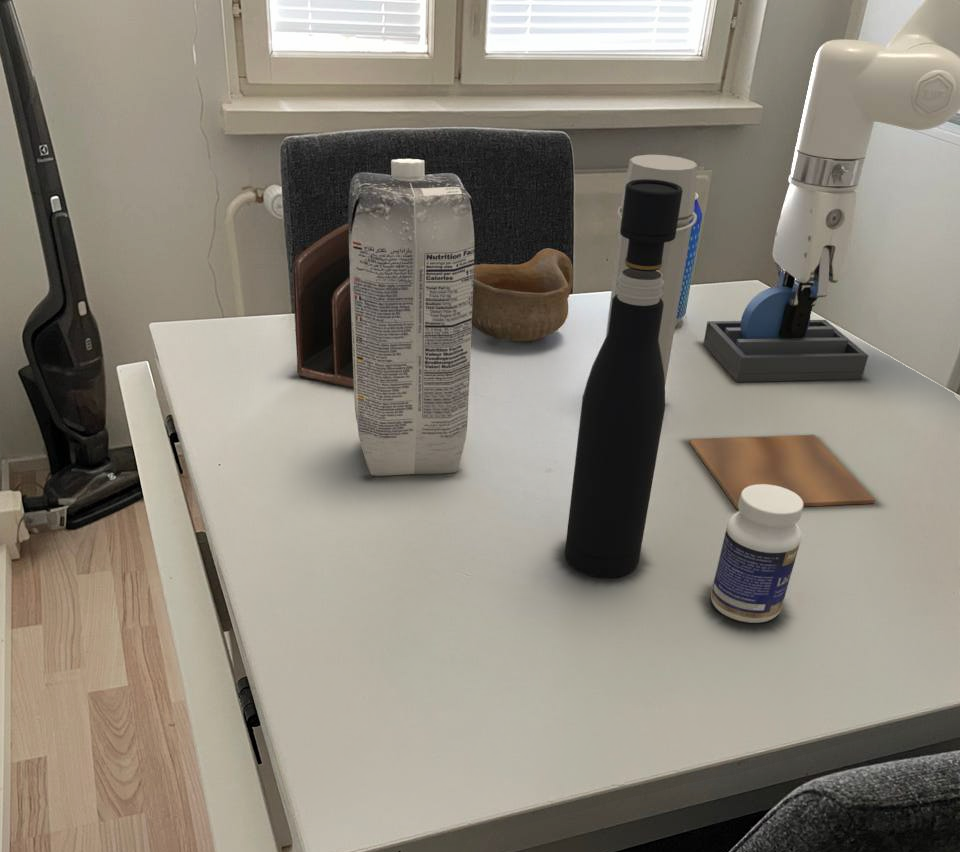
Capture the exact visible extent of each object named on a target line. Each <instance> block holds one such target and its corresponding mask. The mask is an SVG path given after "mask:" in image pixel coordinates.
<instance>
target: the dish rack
mask: <svg viewBox="0 0 960 852" xmlns="http://www.w3.org/2000/svg"><path fill="white" fill-rule="evenodd" d="M703 346H704V347H705V348H706V349H707V350H708V352H709V353H710V354H711V355H712V356H713V357H714V358H715V360H717V361H718V363H719V364H720V365H721V366H722V367H723V368H724V370H725V371H726V372H727V373H728V374H729V375H730V376H731V377H732V378H733V380H734V381H735V382H736V383H750V382H751V383H754V382H759V383H760V382H790V381H791V382H794V381H795V382H797V381H798V382H801V381H835V380H836V381H839V380H840V381H842V380H844V381H845V380H862V379H863V376H864V373H865V369H866V366H867V362H868V359H869V354H868V353H866V352H865V351H863V350H862V348H860V347H859V346H858V345H856V343H854V342H853V341H852V340H851V339H849V338H848V337H847V336H846V335H844V334H843V333H842V332H841V331H840V330H839V329H838V328H836V327H835V326H834V325H832V324H831V323H830V322H829V321H828V320H827V319H810V324H809V327H808V330H807V332H806V335H805V337H803V338H773V339H743V336H742V333H741V320H708V321H707V323H706V327H705V333H704V339H703Z"/></svg>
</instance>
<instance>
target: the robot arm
mask: <svg viewBox="0 0 960 852" xmlns="http://www.w3.org/2000/svg"><path fill="white" fill-rule="evenodd" d="M812 65H813V66H812V70H811V74H810V78H809V84H808V89H807V93H806V98H805V101H804V106H803V111H802V116H801V120H800V126H799V130H798V134H797V139H796V143H795V148H794V152H793V156H792V161H791V166H790V171H789V175H788V179H787V181H788V183H789V186H788V188H787V191H786V195H785V198H784V202H783V205H782V208H781V212H780V216H779V219H778V223H777V228H776V232H775V236H774V241H773V246H772V247H773V248H772V258H773V260H774V262H775V267H776V269H777V271H778V273H777V275H778V280H777V285H776V286H784V287H789V288H791V289H793V290H792V294H791V298H790V304H786V306H785V310H784V315H783V319H782V323H781V328H780V332H779V336H780V337H781V338H803V337H805V335H806V331H807V327H808V323H809V319H810V320H811V314H812V310H813V307H815V306H816V304H817V300H818V299H820V298H825V297H827V296H828V293H829V282H830V283H832V284H837V283H838V282H840V280H841V278H842V276H843V272H844V269H845V265H846V260H847V255H848V251H849V246H850V241H851V237H852V231H853V225H854V220H855V211H856V201H857V192H856V190H857V189H858V186H859V182H860V178H861V174H862V170H863V167H864V163H865V160H866V159H865V158H866V156H867V152H868V151H867V150H868V148H869V144H870V141H871V140H870V139H871V136H872V132H873V128H874V125H875V123H876V122H877V123H881V124H886V125H891V126H895V127H899V128H903V129H907V130H913V131H914V130H915V131H924V130H930V129H934V128H937V127H939V126H941V125H944V124H946V123H947V122H949V121H950V120H951V119H952V118H953V117H954V116H955V115H956V114H957V113H958V112H959V111H960V0H923V2H922V3H921V4H920V5H919V6H918V7H917V8H916V9H915V11H914V12H913V13H912V14H911V16H909V18H908V19H907V21H906V22H905V23H904V24H903V25H902V26H901V28H900V29H899V30H898V31H897V32H896V34H895V35H894V36H893V37H892V38H891V40H890V41H889V42H888V44H886V46H884V45H883V44H881V43H878V42H873V41H867V40H859V39H831V40H828V41H825V42H824V43H823V44H822V45H821V46H819V48H818V50H817V52H816V54H815V57H814V60H813V64H812ZM812 276H813V277H812ZM804 286H806V287H804ZM803 287H804V288H803Z"/></svg>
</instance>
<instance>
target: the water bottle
mask: <svg viewBox="0 0 960 852" xmlns="http://www.w3.org/2000/svg"><path fill="white" fill-rule="evenodd" d="M626 172H627V173H626V175H625V182H624V186H623V190H622V195H621V200H620V206H619V207H618V209H617V213H616V215H617V217H618V218H619V229H618V236H617V244H616V254H615V262H614V269H613V276H612V284H611V285H612V286H611V294H610V301H609V309H608V316H607V324H606V332H605V333H606V334H605V337H606V336H607V334H608V329H609V321H610V313H611V305H612V298H613V297H614V296H615V295H616V294H618V292H617V289H616V288H617V287H618V286H619V282H618V277H619V276H620V275H621V271H622V270H623V269H625V268H629V267H627V266H626V264H625V258H626V257H627V249H628V242H629V239H627V238H625V237H623V236H622V235H621V234H620V228H621V220H622V212H623V204H624V196H625V188H626V184H627V183H628V182H630V181H633V180H640V179H652V180H662V181H667V182H672V183H675V184H677V185H679V186H680V187H682V190H683V192H682V199H681V205H680V211H679V217H678V224H677V230H676V236H675V239H674V240H672V241H670V242H665V243H664V249H663V256H662V267H661V268H660V269H658V270H657V271H659V272H661V273H662V274H663V281H664V285H663V286H662V287H661V290H662V292H663V294H662V296H661V297H660V298H661V299H662V300H663V303H664V307H663V313H662V320H661V326H660V332H659V339H658V340H659V346H660V352H661V357H662V363H663V369H664V377H665V385H666V383H667V377H668V371H669V365H670V358H671V352H672V348H673V347H672V346H673V341H674V335H675V330H676V326H675V324H676V318H677V312H678V306H679V300H680V294H681V288H682V282H683V276H684V270H685V264H686V258H687V252H688V246H689V240H690V234H691V228H692V226H693V225H694V224H695V223H696V219H697V215H696V214H695V212H694V204H695V192H696V189H697V175H698V164H697V163H696V162H695V161H693V160H691V159H687V158H684V157H681V156H674V155H668V154H642V155H635V156H633V157H631V158H630V159H629V163H628V167H627V171H626ZM693 218H694V219H693ZM692 219H693V221H692V223H689V221H691V220H692Z"/></svg>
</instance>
